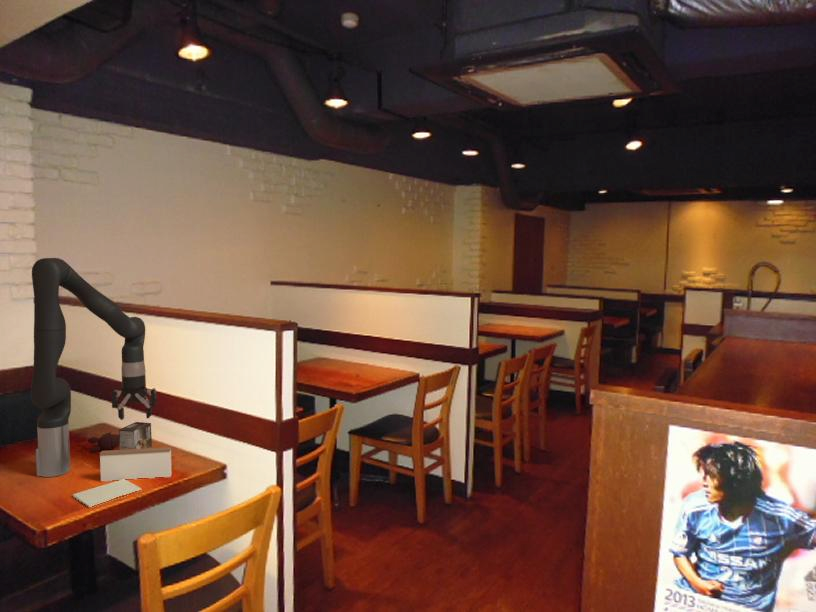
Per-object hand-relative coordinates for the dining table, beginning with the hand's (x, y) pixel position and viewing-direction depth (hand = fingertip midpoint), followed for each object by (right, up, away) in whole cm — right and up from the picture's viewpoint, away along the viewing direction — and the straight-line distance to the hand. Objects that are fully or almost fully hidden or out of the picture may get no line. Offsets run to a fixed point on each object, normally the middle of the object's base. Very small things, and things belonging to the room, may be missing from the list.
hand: (135, 418), depth 196 cm
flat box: (+4, -19, -6) cm, 21 cm away
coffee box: (0, -19, +2) cm, 19 cm away
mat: (0, -21, -18) cm, 28 cm away
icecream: (-21, -17, +21) cm, 34 cm away
